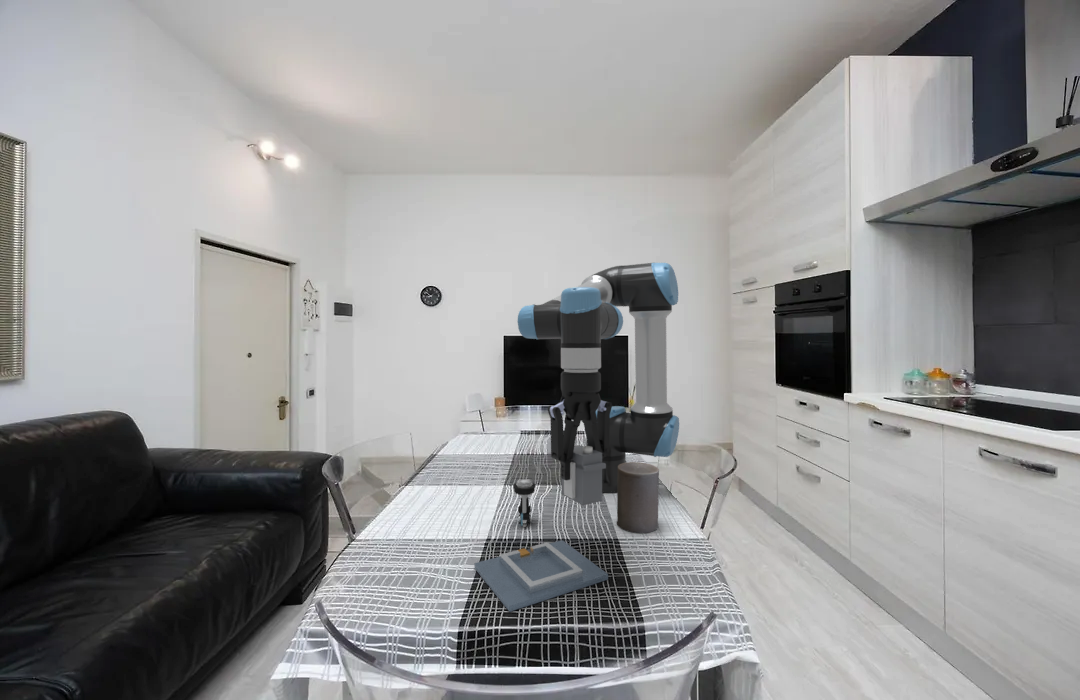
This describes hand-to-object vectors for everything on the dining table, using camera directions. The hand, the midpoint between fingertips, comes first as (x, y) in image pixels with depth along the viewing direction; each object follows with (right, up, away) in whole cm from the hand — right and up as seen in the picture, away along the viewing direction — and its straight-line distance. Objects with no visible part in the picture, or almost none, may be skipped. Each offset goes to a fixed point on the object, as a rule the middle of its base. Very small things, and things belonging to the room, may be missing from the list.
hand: (580, 493), depth 86 cm
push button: (-11, -15, +23) cm, 30 cm away
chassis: (-8, -15, 0) cm, 17 cm away
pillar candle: (+15, -14, +22) cm, 30 cm away
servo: (0, -1, 0) cm, 1 cm away
